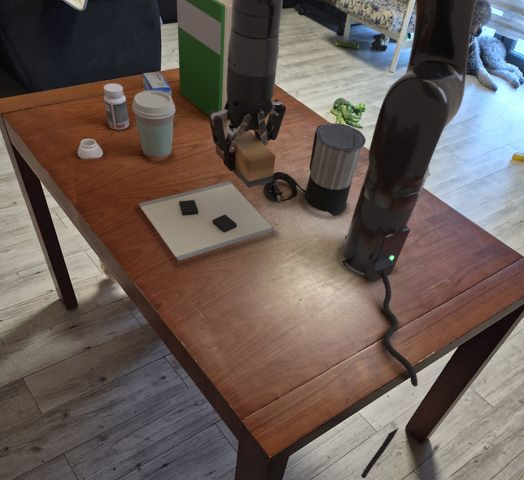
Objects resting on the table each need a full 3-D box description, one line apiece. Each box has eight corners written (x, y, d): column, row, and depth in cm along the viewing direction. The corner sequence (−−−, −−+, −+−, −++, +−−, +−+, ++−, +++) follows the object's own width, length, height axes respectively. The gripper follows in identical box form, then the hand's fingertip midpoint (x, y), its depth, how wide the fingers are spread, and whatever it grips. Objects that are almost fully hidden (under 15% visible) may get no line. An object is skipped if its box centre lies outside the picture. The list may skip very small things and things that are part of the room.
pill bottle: (131, 121, 110) (127, 84, 103) (126, 131, 107) (121, 93, 100) (111, 118, 110) (105, 80, 103) (105, 128, 107) (99, 90, 100)
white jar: (80, 163, 98) (105, 160, 99) (77, 149, 95) (102, 147, 97) (76, 150, 100) (100, 148, 102) (73, 137, 98) (98, 135, 99)
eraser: (272, 181, 83) (275, 155, 79) (248, 188, 81) (250, 161, 77) (239, 147, 89) (241, 121, 85) (215, 152, 87) (216, 126, 83)
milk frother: (355, 211, 97) (376, 142, 86) (293, 231, 91) (306, 160, 79) (315, 175, 104) (330, 107, 92) (255, 191, 98) (262, 120, 86)
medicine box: (145, 111, 114) (141, 72, 107) (163, 109, 115) (160, 71, 108) (154, 127, 109) (151, 88, 103) (173, 125, 111) (171, 86, 104)
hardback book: (242, 117, 117) (250, 2, 98) (218, 123, 114) (221, 6, 95) (204, 87, 125) (204, -25, 106) (180, 92, 121) (176, -22, 102)
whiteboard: (274, 235, 90) (275, 230, 89) (178, 265, 82) (178, 260, 81) (229, 186, 98) (229, 180, 97) (138, 209, 90) (138, 203, 89)
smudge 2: (236, 227, 88) (236, 223, 87) (224, 233, 87) (224, 229, 86) (224, 217, 90) (225, 214, 89) (212, 223, 88) (212, 219, 87)
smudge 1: (198, 214, 89) (198, 210, 89) (182, 215, 89) (182, 212, 88) (194, 203, 91) (194, 199, 91) (179, 204, 90) (179, 201, 90)
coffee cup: (182, 163, 101) (180, 107, 92) (142, 168, 99) (136, 110, 89) (171, 143, 106) (168, 87, 96) (133, 147, 103) (126, 90, 94)
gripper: (222, 80, 67) (218, 185, 80) (304, 68, 73) (287, 168, 86) (198, 58, 71) (198, 162, 84) (278, 48, 76) (266, 147, 90)
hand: (243, 165), depth 85 cm, fingers closed on eraser, 5 cm apart
